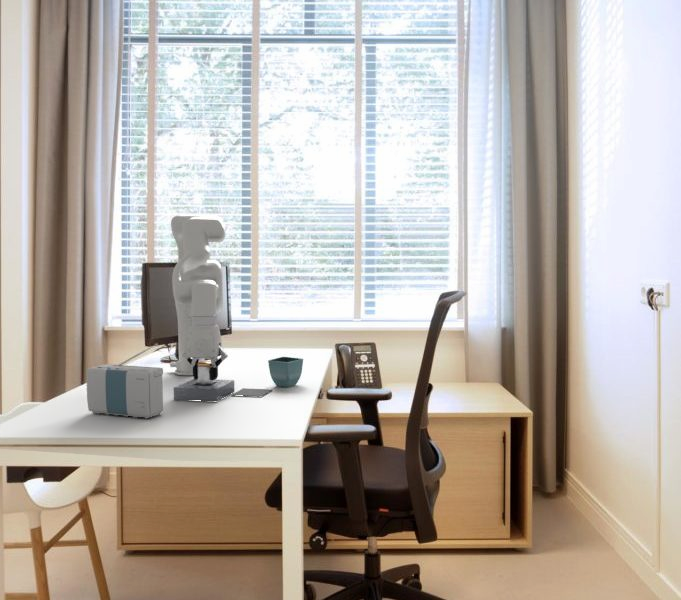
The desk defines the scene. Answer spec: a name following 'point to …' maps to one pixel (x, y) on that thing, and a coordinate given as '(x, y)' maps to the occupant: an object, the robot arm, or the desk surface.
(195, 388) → the housing
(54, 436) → the desk surface
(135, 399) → the grey teal equipment box
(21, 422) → the desk surface
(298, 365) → the flower pot
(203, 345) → the robot arm
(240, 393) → the mat
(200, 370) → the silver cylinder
